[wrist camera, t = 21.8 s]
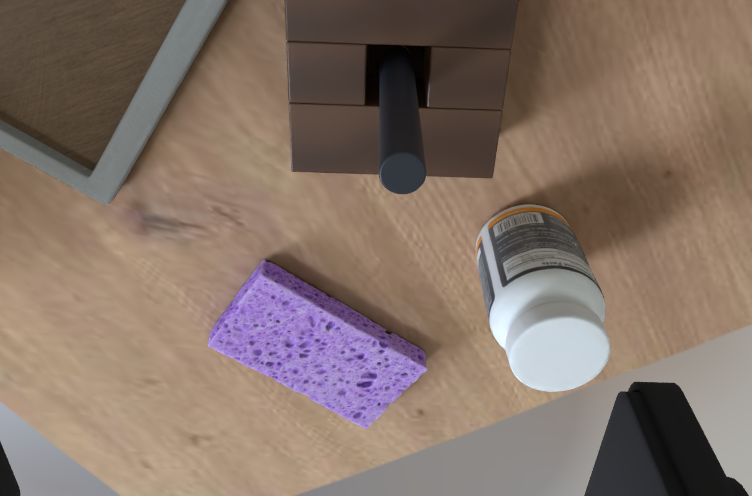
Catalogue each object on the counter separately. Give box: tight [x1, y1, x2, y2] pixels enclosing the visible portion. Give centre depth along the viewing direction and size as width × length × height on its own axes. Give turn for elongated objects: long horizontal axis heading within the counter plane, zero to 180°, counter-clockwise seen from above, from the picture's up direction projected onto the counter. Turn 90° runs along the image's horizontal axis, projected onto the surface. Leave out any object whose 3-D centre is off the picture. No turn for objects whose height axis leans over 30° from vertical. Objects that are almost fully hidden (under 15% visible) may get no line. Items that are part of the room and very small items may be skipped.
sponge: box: [208, 260, 427, 429], centre depth 43 cm, size 7×13×2 cm, turn 54°
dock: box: [285, 0, 518, 178], centre depth 31 cm, size 10×10×4 cm
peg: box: [379, 45, 426, 194], centre depth 28 cm, size 2×2×13 cm
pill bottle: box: [476, 204, 610, 392], centre depth 35 cm, size 6×6×10 cm
